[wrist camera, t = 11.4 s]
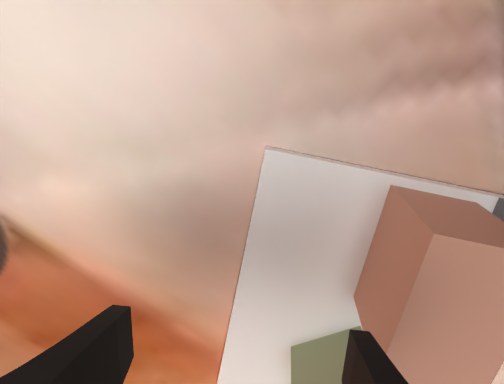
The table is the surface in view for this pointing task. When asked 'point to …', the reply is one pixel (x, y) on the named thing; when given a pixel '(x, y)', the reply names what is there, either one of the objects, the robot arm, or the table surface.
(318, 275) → the shelf board
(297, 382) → the tea box olive
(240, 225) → the table surface
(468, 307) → the tea box rust
